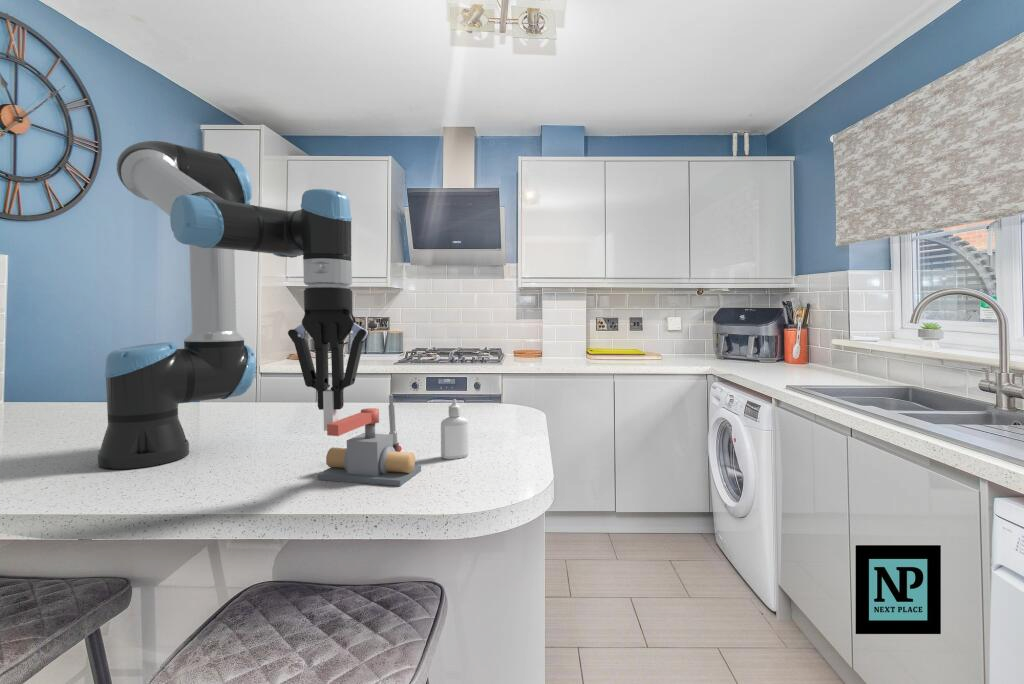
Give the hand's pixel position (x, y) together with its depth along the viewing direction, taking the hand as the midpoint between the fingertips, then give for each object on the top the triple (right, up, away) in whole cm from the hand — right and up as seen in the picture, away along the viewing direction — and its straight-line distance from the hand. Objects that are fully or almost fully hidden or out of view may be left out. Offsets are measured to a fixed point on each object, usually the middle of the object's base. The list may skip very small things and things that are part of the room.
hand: (331, 428), depth 85 cm
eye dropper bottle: (+18, -10, +21) cm, 29 cm away
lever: (+3, 0, +3) cm, 4 cm away
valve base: (+4, -10, +9) cm, 14 cm away
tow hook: (+2, -10, +22) cm, 24 cm away
